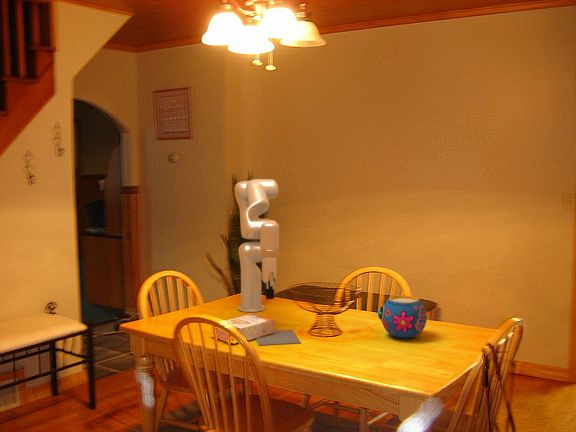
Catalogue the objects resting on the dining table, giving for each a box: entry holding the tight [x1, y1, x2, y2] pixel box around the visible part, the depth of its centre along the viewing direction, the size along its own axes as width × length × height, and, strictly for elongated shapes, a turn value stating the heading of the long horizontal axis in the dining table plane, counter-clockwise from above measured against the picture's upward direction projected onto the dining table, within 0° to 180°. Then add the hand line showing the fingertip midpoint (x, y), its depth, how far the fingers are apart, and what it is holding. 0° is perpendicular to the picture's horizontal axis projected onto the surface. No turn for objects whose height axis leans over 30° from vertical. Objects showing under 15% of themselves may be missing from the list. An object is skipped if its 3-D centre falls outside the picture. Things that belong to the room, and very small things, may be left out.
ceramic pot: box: [377, 295, 428, 339], centre depth 228 cm, size 18×18×15 cm
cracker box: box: [215, 313, 276, 341], centre depth 229 cm, size 14×6×21 cm
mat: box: [255, 329, 302, 347], centre depth 227 cm, size 18×16×1 cm
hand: (269, 298), depth 235 cm, fingers closed
